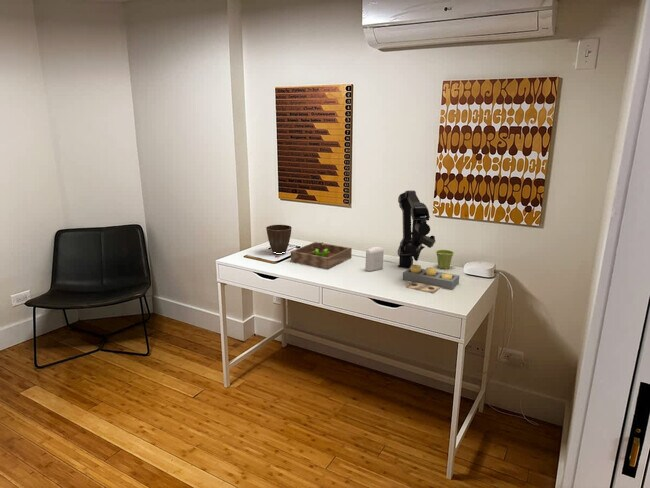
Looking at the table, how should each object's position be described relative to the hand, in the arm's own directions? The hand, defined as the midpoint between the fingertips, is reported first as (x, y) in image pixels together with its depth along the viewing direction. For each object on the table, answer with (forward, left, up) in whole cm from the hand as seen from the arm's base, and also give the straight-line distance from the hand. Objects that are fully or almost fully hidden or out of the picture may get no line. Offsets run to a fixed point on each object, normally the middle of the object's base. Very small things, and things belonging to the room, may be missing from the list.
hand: (416, 260), depth 227 cm
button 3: (+16, 0, -9) cm, 18 cm away
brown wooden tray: (-57, +1, -9) cm, 58 cm away
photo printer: (-24, +2, -10) cm, 26 cm away
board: (+8, 0, -9) cm, 12 cm away
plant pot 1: (-85, -2, -10) cm, 86 cm away
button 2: (+8, 0, -7) cm, 11 cm away
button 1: (0, 0, -7) cm, 7 cm away
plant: (-57, +1, -10) cm, 58 cm away
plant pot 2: (+6, +26, -10) cm, 28 cm away
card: (+8, -11, -9) cm, 16 cm away
